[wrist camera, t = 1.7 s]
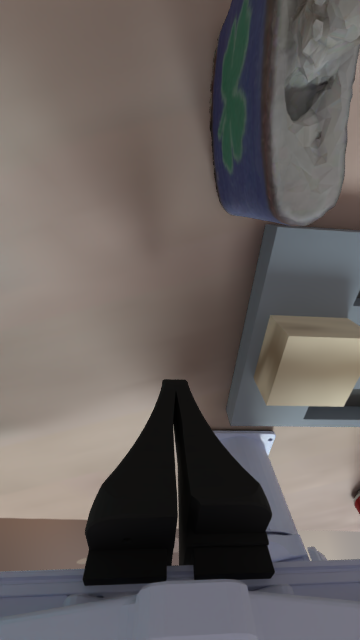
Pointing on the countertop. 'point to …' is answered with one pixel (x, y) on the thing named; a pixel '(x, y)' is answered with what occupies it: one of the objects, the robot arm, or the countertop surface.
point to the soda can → (357, 501)
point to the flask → (283, 106)
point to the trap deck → (297, 300)
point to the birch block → (308, 361)
